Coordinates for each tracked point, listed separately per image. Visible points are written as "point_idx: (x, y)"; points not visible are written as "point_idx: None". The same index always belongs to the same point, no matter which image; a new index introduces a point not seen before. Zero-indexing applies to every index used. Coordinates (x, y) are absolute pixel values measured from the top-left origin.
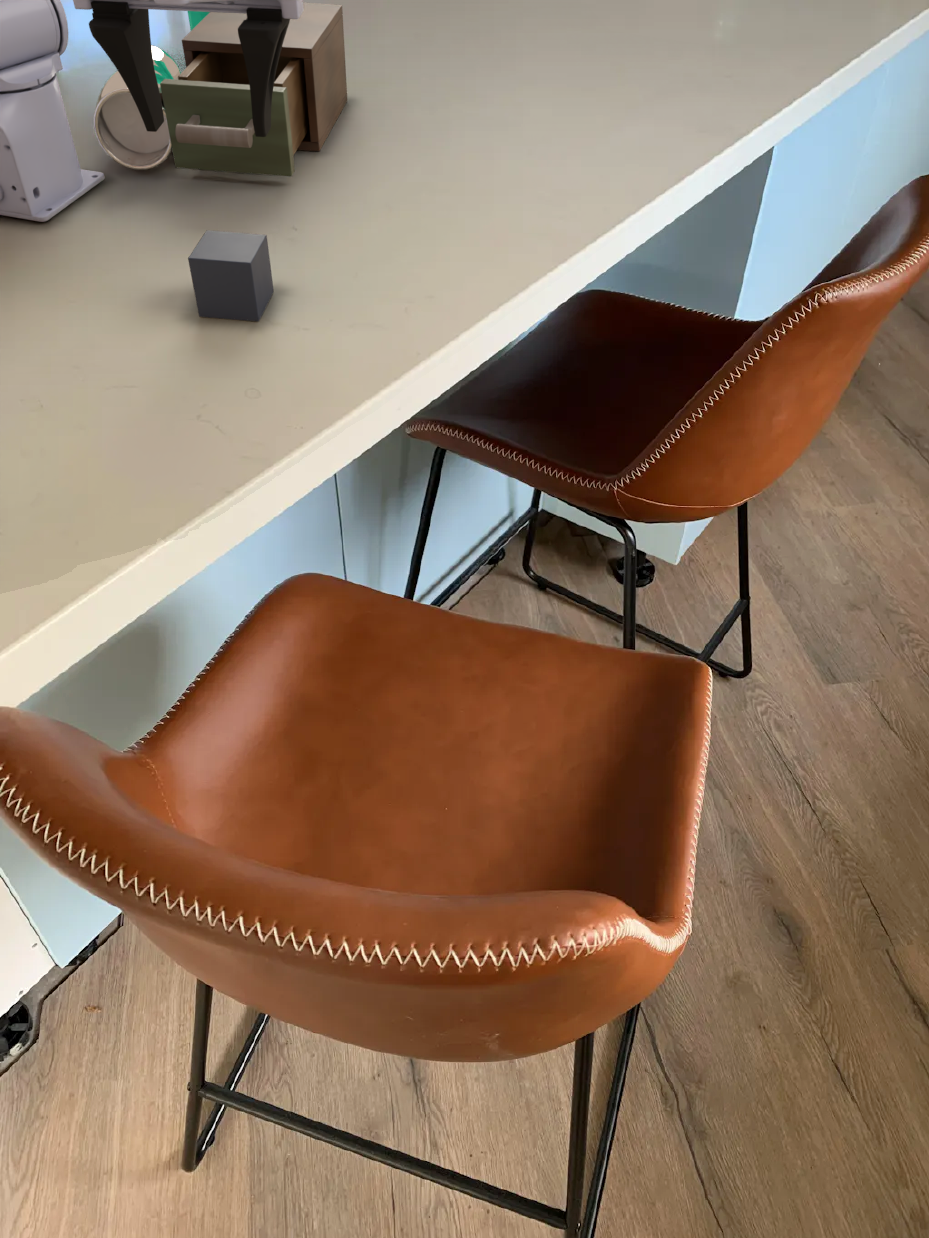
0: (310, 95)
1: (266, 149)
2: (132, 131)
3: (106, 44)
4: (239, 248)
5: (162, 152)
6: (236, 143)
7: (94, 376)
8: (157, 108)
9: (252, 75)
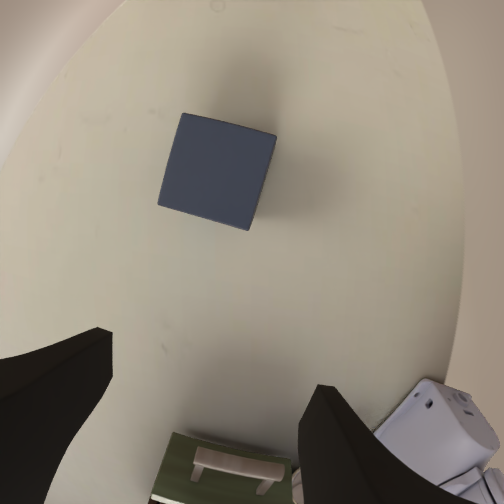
0: (152, 502)
1: (190, 457)
2: None
3: (443, 501)
4: (196, 160)
5: (300, 479)
6: (212, 452)
7: (378, 53)
8: (309, 431)
9: (22, 375)
